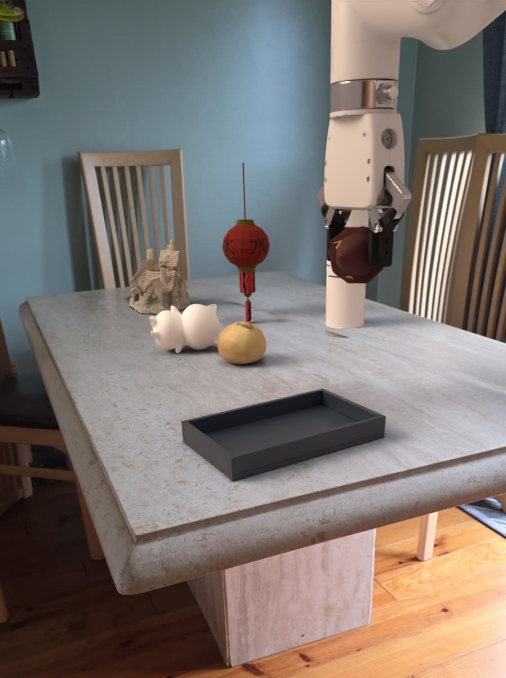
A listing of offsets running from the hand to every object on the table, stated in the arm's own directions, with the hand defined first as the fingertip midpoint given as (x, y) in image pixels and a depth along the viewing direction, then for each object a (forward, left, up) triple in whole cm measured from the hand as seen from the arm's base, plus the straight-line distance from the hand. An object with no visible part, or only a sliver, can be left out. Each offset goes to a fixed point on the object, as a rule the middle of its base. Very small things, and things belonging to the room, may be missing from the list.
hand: (357, 262), depth 77 cm
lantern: (+48, -11, -18) cm, 53 cm away
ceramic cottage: (+76, -2, -18) cm, 79 cm away
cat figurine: (+37, +8, -18) cm, 42 cm away
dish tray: (-7, +16, -18) cm, 25 cm away
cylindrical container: (+29, -21, -18) cm, 41 cm away
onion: (+24, +4, -18) cm, 31 cm away
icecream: (0, 0, -3) cm, 3 cm away
